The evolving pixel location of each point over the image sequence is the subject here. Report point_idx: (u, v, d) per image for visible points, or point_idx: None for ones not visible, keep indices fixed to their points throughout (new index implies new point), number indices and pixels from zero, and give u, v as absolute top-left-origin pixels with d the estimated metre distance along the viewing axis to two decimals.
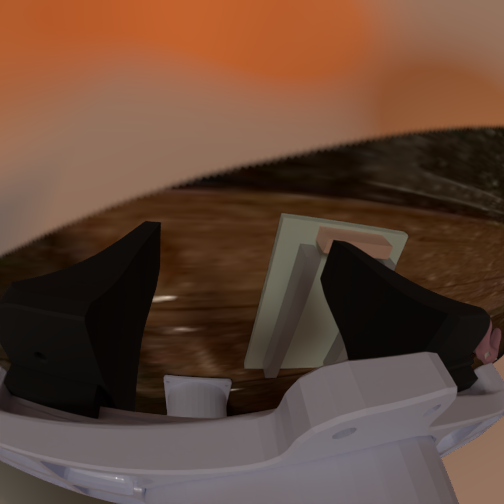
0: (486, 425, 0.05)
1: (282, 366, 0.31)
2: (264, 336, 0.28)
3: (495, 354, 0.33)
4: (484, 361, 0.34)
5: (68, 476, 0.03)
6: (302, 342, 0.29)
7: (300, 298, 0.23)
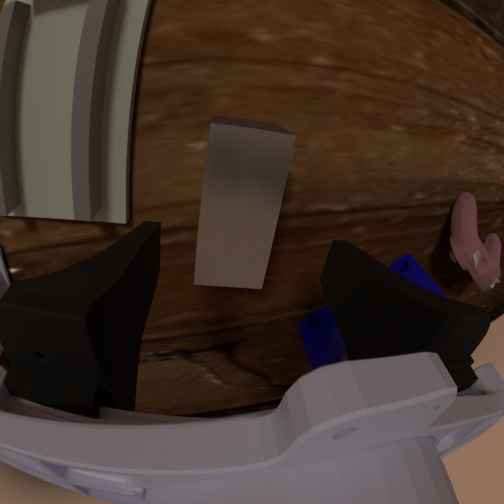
0: (486, 425, 0.05)
1: (33, 212, 0.17)
2: None
3: (495, 263, 0.19)
4: (475, 274, 0.19)
5: (68, 476, 0.03)
6: (39, 158, 0.15)
7: None
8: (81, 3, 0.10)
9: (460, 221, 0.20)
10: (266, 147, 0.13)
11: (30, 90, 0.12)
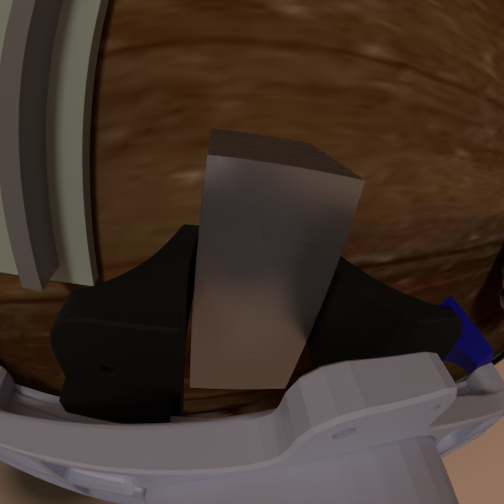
0: (486, 425, 0.05)
1: None
2: None
3: None
4: None
5: (68, 476, 0.03)
6: None
7: None
8: None
9: None
10: (311, 201, 0.07)
11: None
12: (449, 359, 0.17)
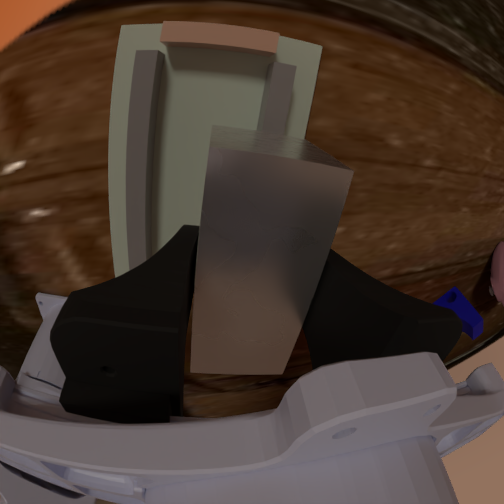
0: (486, 425, 0.05)
1: None
2: (124, 216, 0.18)
3: None
4: None
5: (68, 476, 0.03)
6: None
7: (139, 118, 0.13)
8: (238, 74, 0.15)
9: (499, 266, 0.24)
10: (304, 190, 0.08)
11: (174, 162, 0.17)
12: None
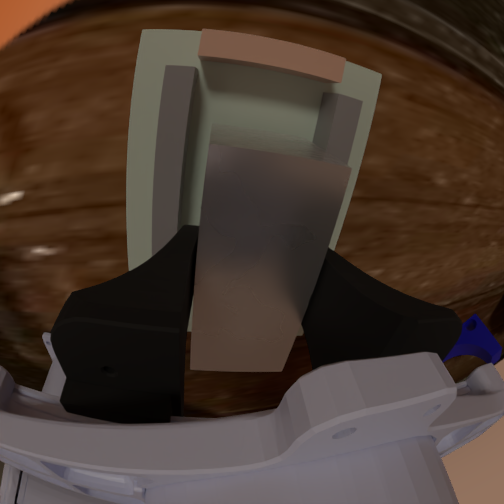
0: (486, 425, 0.05)
1: None
2: None
3: None
4: None
5: (68, 476, 0.03)
6: None
7: (169, 155, 0.11)
8: (289, 102, 0.13)
9: None
10: (303, 187, 0.08)
11: None
12: (474, 354, 0.24)
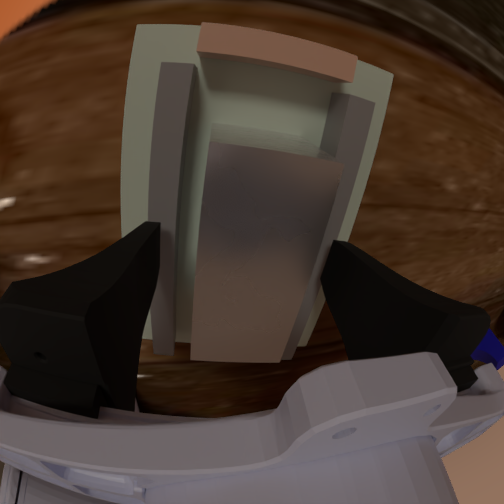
0: (486, 425, 0.05)
1: None
2: None
3: None
4: None
5: (68, 476, 0.03)
6: None
7: (165, 161, 0.10)
8: (295, 103, 0.12)
9: None
10: (298, 182, 0.08)
11: None
12: (478, 359, 0.23)
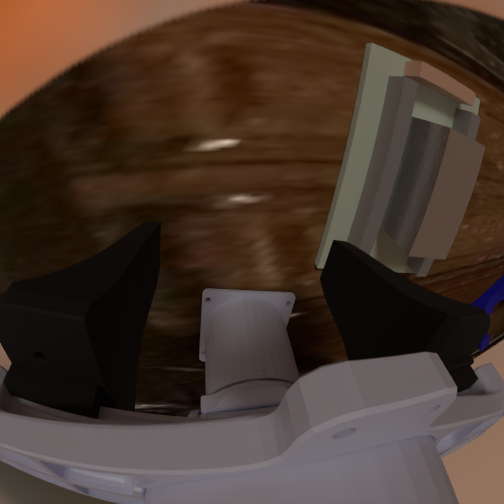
0: (486, 425, 0.05)
1: None
2: (348, 209, 0.21)
3: None
4: None
5: (68, 476, 0.03)
6: None
7: (400, 132, 0.16)
8: (441, 111, 0.17)
9: None
10: (472, 152, 0.14)
11: None
12: None
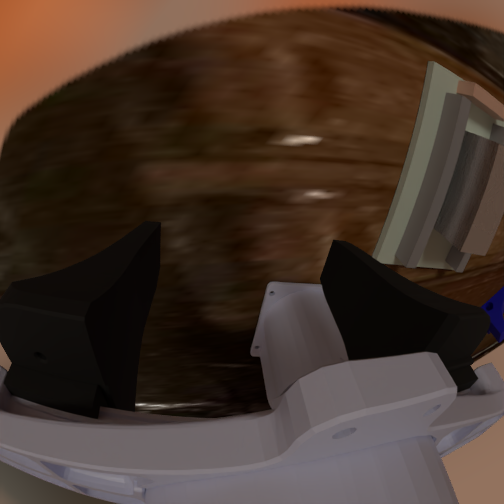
0: (486, 425, 0.05)
1: None
2: (406, 208, 0.22)
3: None
4: None
5: (68, 476, 0.03)
6: None
7: (456, 143, 0.17)
8: (482, 126, 0.18)
9: None
10: None
11: None
12: None
